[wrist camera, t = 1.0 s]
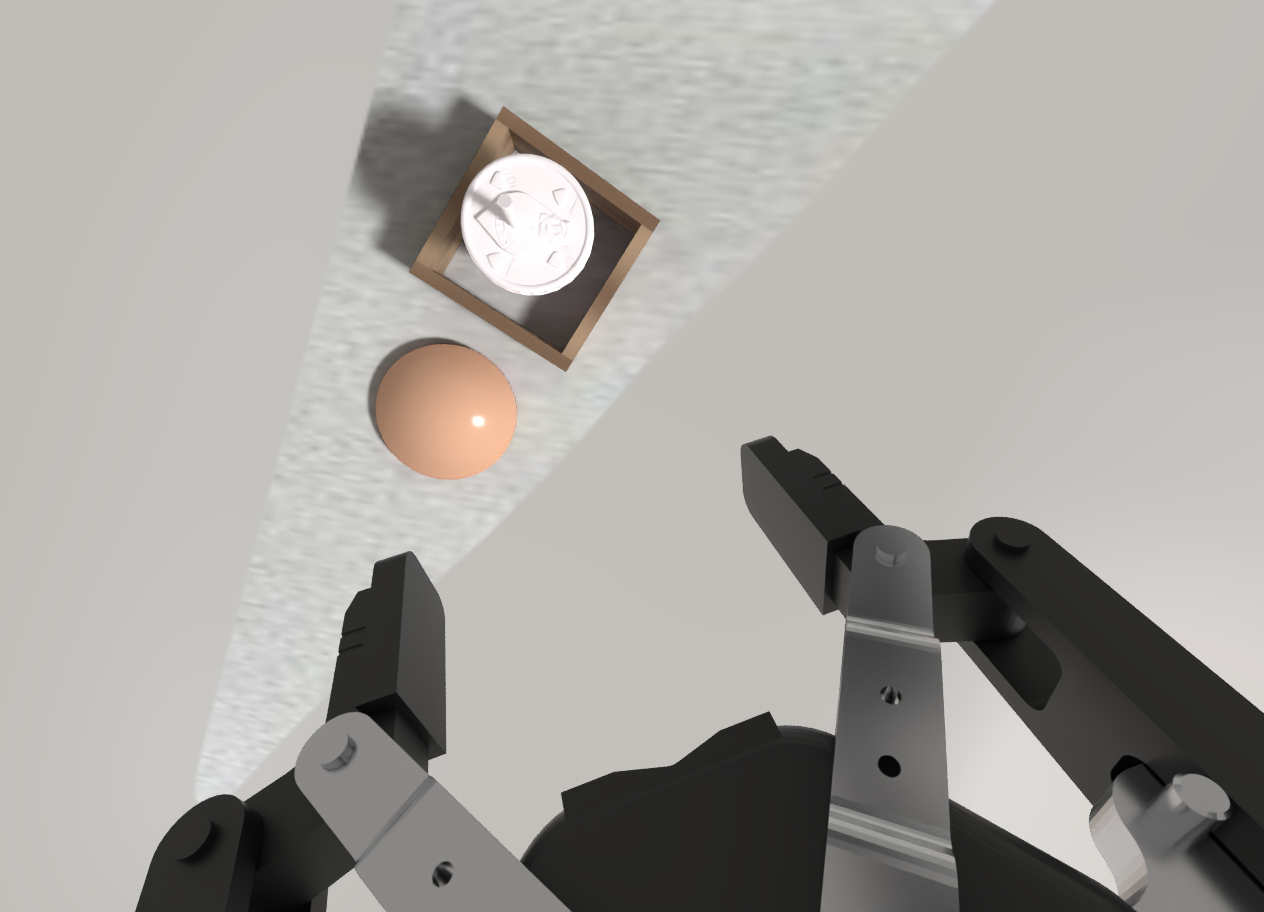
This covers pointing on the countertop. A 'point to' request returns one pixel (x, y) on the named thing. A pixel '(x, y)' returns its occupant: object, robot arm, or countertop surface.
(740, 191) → the countertop surface
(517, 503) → the countertop surface
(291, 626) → the countertop surface
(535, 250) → the smoothie
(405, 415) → the peach glossy dome
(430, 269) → the crate
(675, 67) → the countertop surface
